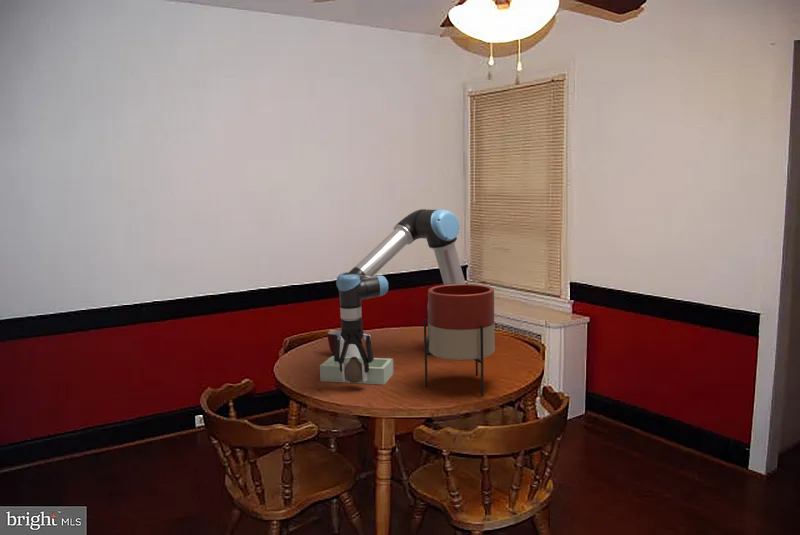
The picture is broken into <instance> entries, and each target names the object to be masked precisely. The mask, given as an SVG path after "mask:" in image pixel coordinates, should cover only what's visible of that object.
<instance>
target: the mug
mask: <svg viewBox="0 0 800 535" xmlns="http://www.w3.org/2000/svg"><path fill="white" fill-rule="evenodd" d="M341 331H342V329H334V330H330V331H328V332H327V341H328V346H329V350H330V352H331V353H332V356H334V350H335V340H334V337H333V336H334V335H335V334H337V333H338V334H340V333H341Z"/></svg>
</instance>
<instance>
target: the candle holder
mask: <svg viewBox="0 0 800 535" xmlns="http://www.w3.org/2000/svg"><path fill="white" fill-rule="evenodd" d="M343 345H344V339H343V338H342V337H341V339H340V356H341V353H342V349H343ZM345 357H361V355H360V353H359V350H358V348H357V347H356V345H355V344H349V346H348V349H347V353H346V356H345Z"/></svg>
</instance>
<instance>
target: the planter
mask: <svg viewBox="0 0 800 535" xmlns="http://www.w3.org/2000/svg"><path fill="white" fill-rule="evenodd" d="M427 293H428V294H427V299H428V300H427V301H428V302H427V308H428V310H429V351H430V353H427V319H423V338H424V339H423V342H424V344H423V346H424V349H423V350H424V386H425V387H428V356H435V357H437V358H440V359H444V360H452V361H475V376H476V377H477V376H478V375H479V363H480V396H481V397H484V395H485V394H484V392H485V391H484V389H485V388H484V384H485V383H484V379H485V378H484V358H487V357H490V356H491V355H492V354H494V352H495V351H496V349H495V348H496V345H495V289H494V288H493V287H492V286H490V285H489V286H488V285H483V284H477V283H476V284H475V283H466V284H448V285H444V284H441V285H436V286H432V287H430V288H428V290H427Z"/></svg>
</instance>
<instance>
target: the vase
mask: <svg viewBox="0 0 800 535" xmlns="http://www.w3.org/2000/svg"><path fill="white" fill-rule="evenodd" d="M345 375H346V378H347V380H348V381H349V382H351V384H358V383H357V382H360V381H361V380H362V379H363V377H362V363H361V362H360V361H359V360H358V358H357V357H351V358H350V360H349V362H348V363H347V365H346V368H345Z"/></svg>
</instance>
